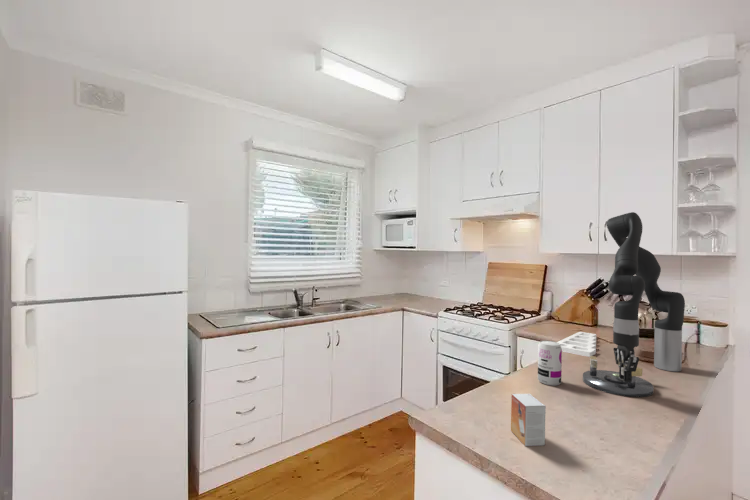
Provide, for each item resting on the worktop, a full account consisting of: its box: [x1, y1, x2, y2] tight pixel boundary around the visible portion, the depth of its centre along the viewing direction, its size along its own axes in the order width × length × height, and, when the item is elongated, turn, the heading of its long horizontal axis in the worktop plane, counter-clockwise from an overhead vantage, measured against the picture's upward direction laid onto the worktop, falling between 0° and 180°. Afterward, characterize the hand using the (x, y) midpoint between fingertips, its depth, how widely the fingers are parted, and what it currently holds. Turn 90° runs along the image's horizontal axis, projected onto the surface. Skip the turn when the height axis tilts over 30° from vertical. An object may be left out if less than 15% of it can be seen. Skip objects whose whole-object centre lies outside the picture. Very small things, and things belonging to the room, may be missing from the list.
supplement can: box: [537, 340, 563, 387], centre depth 138 cm, size 8×8×15 cm
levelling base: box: [582, 369, 654, 398], centre depth 136 cm, size 22×22×4 cm
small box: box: [510, 393, 547, 447], centre depth 97 cm, size 8×6×10 cm
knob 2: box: [621, 366, 643, 388], centre depth 128 cm, size 6×2×7 cm, turn 97°
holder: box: [556, 331, 597, 358], centre depth 193 cm, size 45×18×3 cm, turn 134°
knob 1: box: [589, 355, 598, 376], centre depth 139 cm, size 6×2×7 cm, turn 152°
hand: (625, 380), depth 128 cm, fingers closed on knob 2, 2 cm apart
